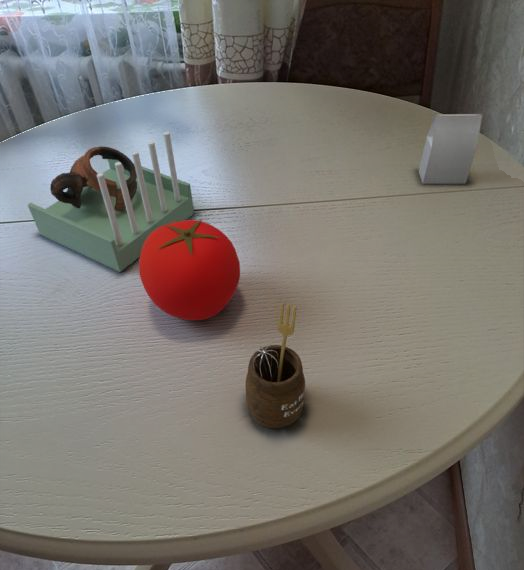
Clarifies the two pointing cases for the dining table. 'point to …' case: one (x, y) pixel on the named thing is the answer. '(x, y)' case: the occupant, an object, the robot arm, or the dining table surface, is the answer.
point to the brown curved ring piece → (93, 178)
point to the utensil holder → (276, 380)
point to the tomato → (189, 269)
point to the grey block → (450, 148)
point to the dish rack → (118, 212)
